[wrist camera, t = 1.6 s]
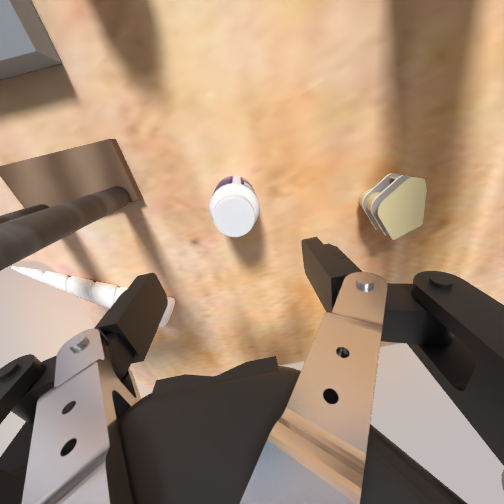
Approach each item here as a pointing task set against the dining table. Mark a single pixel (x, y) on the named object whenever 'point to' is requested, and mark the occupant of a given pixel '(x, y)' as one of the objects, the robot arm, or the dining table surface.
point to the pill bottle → (234, 206)
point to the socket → (23, 40)
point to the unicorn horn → (87, 289)
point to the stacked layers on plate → (395, 204)
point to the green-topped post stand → (62, 196)
